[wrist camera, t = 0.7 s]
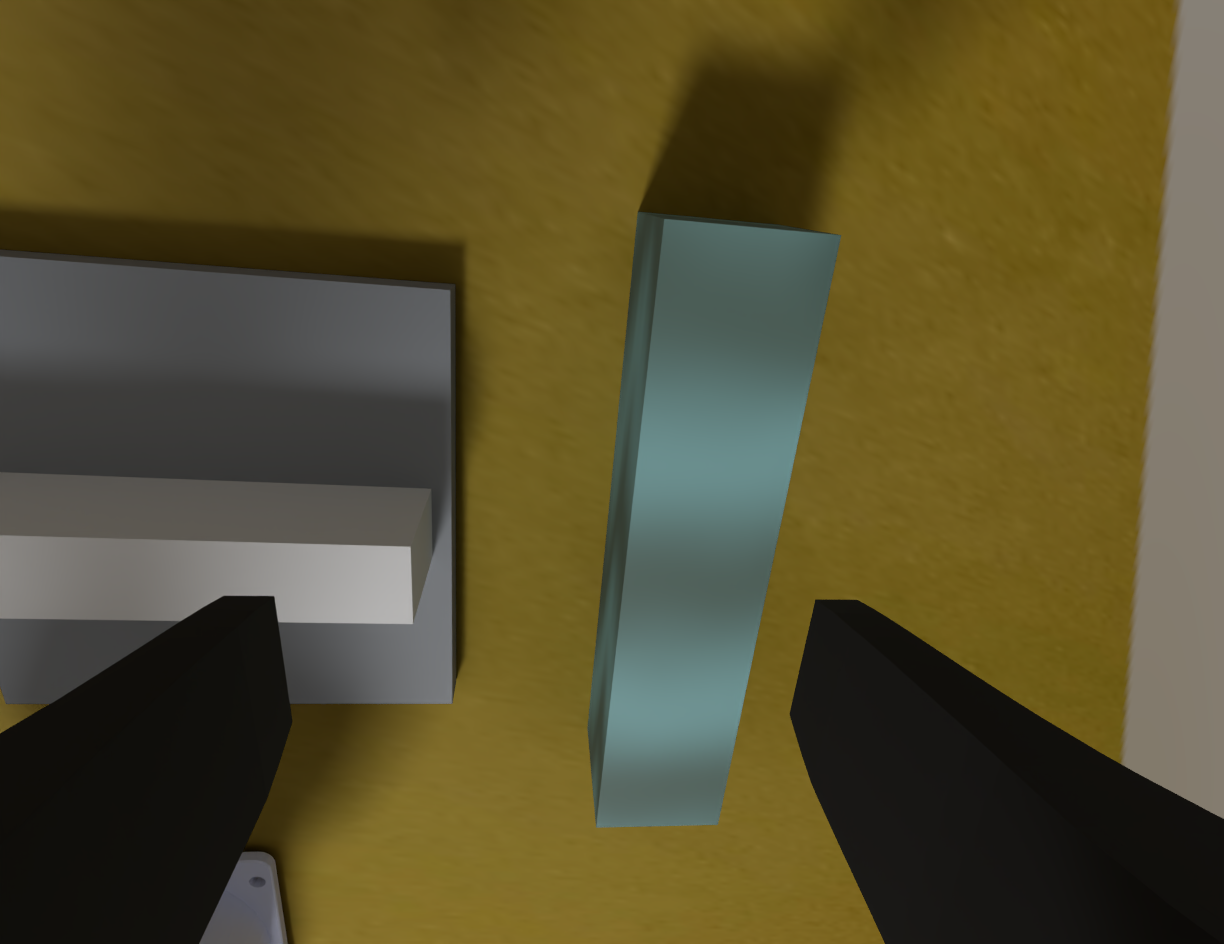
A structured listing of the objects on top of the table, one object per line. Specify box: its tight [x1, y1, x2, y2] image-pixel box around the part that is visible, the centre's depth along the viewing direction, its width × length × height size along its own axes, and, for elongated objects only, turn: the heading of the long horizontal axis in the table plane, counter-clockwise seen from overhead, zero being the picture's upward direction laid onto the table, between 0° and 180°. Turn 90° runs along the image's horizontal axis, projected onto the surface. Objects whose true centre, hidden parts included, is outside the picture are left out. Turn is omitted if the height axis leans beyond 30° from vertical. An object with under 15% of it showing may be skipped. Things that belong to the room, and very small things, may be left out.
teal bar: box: [588, 212, 841, 827], centre depth 18 cm, size 16×4×4 cm, turn 175°
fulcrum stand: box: [0, 250, 456, 704], centre depth 16 cm, size 12×12×4 cm
